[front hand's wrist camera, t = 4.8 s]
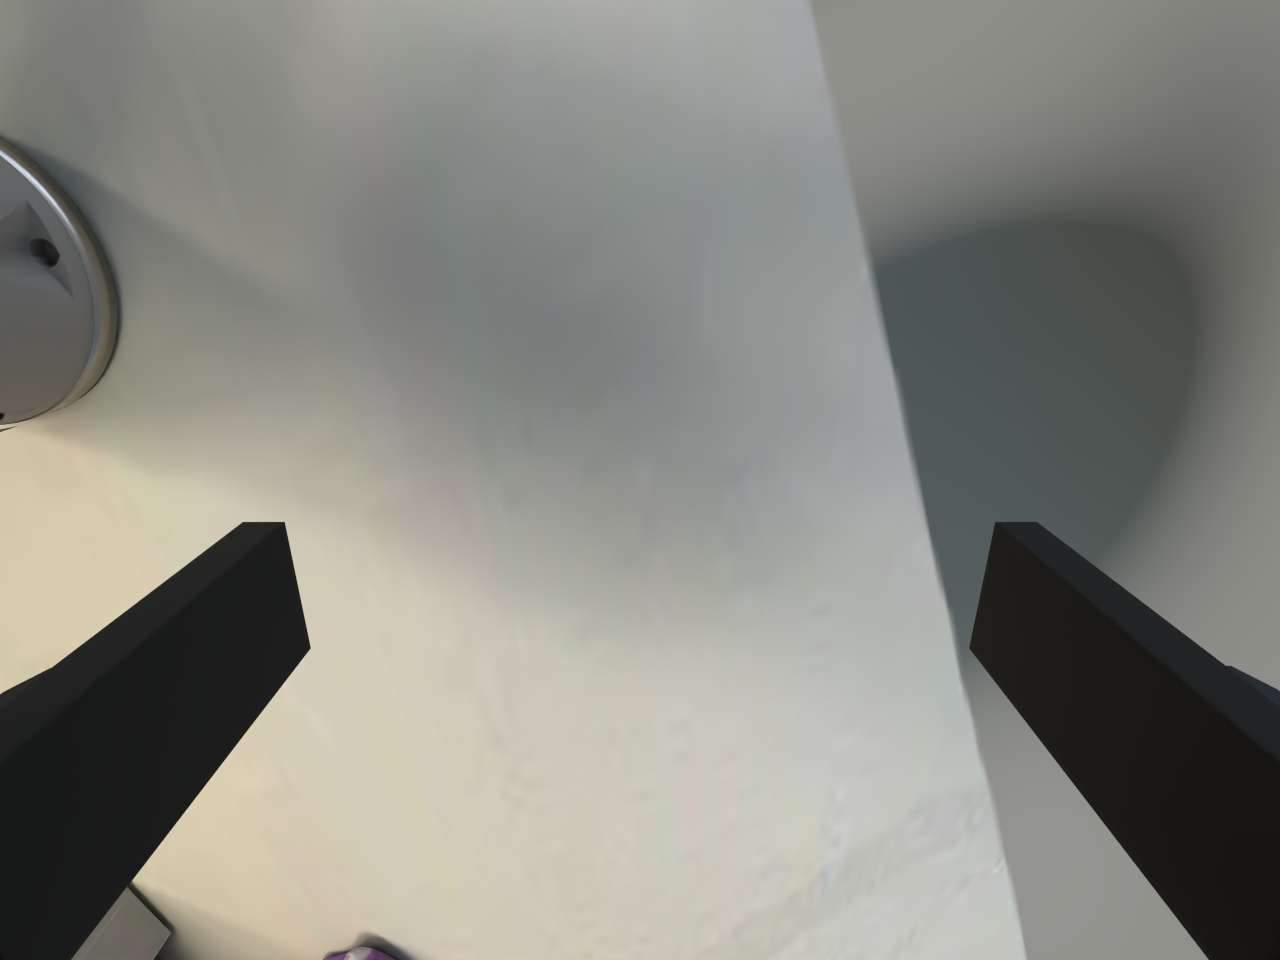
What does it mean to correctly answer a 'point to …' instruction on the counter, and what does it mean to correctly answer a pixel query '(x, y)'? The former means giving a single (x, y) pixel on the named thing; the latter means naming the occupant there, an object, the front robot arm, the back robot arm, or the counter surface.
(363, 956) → the figurine
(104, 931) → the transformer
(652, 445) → the counter surface
